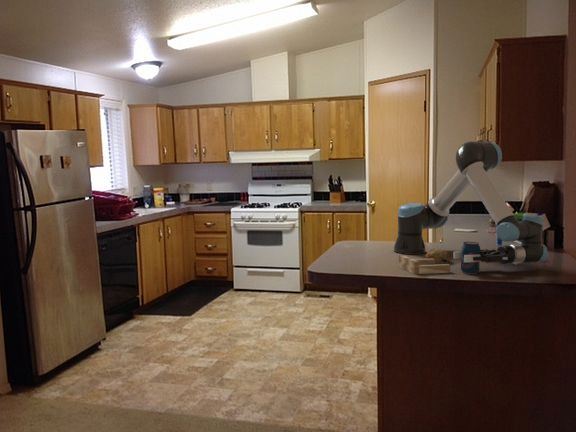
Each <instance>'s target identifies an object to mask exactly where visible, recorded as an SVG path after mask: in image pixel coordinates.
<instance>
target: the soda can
mask: <svg viewBox="0 0 576 432" xmlns="http://www.w3.org/2000/svg"><path fill="white" fill-rule="evenodd" d="M480 250H481V246H480V243H479V242H477V241H463V243H462V245H461V258H460V270H461V272H462V273H463V274H468V275H476V274H478V273H479V271H480V265H481V264H480V263H481V261H480V262H464V255H478V254H479V255H480Z"/></svg>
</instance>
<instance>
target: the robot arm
mask: <svg viewBox="0 0 576 432" xmlns="http://www.w3.org/2000/svg"><path fill="white" fill-rule="evenodd" d="M455 153H456V154H455V163H456V165H457V168H458V170H457V171H456V172H455V174H454V175H453V176H452V177H451V178H450V179H449V180H448V182H447V183H446V184H445V186H444V187H443V188H442V189H441V190H440V191H439V193H438V194H437V195H436V196H435V197H434V198H433V197H432V198H430V199H428V201H427V202H426V203H425V204H424V205H423V203H417V202H415V203H414V202H413V203H406V204H402V205H400V206H399V207H398V212H397V237H396V240H395V242H394V245H393V252H394V251H395V253H397V252H398V253H397V254H402V253H405V254H404V255H422V253H423V254H425V253H426V245H425V241H424V239H423V230H431V229H432V230H433V229H439V228H441V227H444V226H445V225H446V224H447V222H448V220H449V216H450V215H449V214H450V209H451V208H452V207H453V206H454V204H456V202H458V200H459V199H460V198H461V196H462V195H464V193H465V192H466V191H467V190H468V188H470V187H471V186H472V188H473V190H474V192H475V193H476V194H477V196H478V198H479V199H480V201H481V202H482V204H483V205H484V207H485V209H486V210H487V212H488V213H489V215H490V216H491V218H492V219H493V220H492V221H493V222H495V224H496V229H495V230H496V236H497V237H498V239H500V241H501V242H503V241H506V242H513V241H517V240H521V245H504V246H502V245H500V246H498V248H497V250H496V249H488V248H486V249H480V255H479V254H478V255H464V262H480V263H484V262H485V263H486V264H488V263H500V264H501V265H510V264H511V265H513V264H514V265H515V266H517V265H518V264H533V263H534V264H536V263H542V262H545V261H546V260H547V258H548V256H549V251H548V248H547V246H546V245H545V244H543V228H544V225H543V224H544V221H543V216H541V215H538V214H537V215H536V214H525V215H523V216H522V220H521V221H520V220H519V221H518V219H517V218H516V216H515V215H514V213H513V212H512V210H511V208H510V207H509V205H508V204H507V202H506V200H505V199H504V197H503V196H502V195H501V193H500V191H499V190H498V188H497V187H496V185H495V184H494V182H493V181H492V179H491V177H490V176H489V174H488V171H490V170H493V169H495V168H497V167H498V166H499V165H500V164H501V162H502V160H503V156H502V155H503V153H502V149H501V147H500V146H499V145H498V144H497V143H495V142H490V141H467V142H464V143H462V144H461V145H460V146H459V147H458V149H457V151H456V152H455ZM461 251H462V250H461ZM461 251H453V258H452V259H454V260H456V259H461Z"/></svg>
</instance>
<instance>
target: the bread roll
mask: <svg viewBox="0 0 576 432" xmlns="http://www.w3.org/2000/svg"><path fill="white" fill-rule="evenodd" d="M424 257H425V259H431V258H433V259H435V264H436V265H438V264H449V262H450V261H451V257H450V254H449V253H448V252H447V251H446V250H445V249H444V248H440V247H434V248H431V249H430V250H428V251H427V253H426V254H425V255H424Z"/></svg>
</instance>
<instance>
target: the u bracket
mask: <svg viewBox="0 0 576 432" xmlns="http://www.w3.org/2000/svg"><path fill="white" fill-rule="evenodd" d="M398 268H400V269H402V270H403V271H407V272H409V273H411V274H413V275H426V274H444V273H447V274H449V273H451V264H449V263H444V264H436V263H435V259H433V258H431V259H426V258H411V257H410V256H406V255H405V254H401V255H400V254H399V255H398Z"/></svg>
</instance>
